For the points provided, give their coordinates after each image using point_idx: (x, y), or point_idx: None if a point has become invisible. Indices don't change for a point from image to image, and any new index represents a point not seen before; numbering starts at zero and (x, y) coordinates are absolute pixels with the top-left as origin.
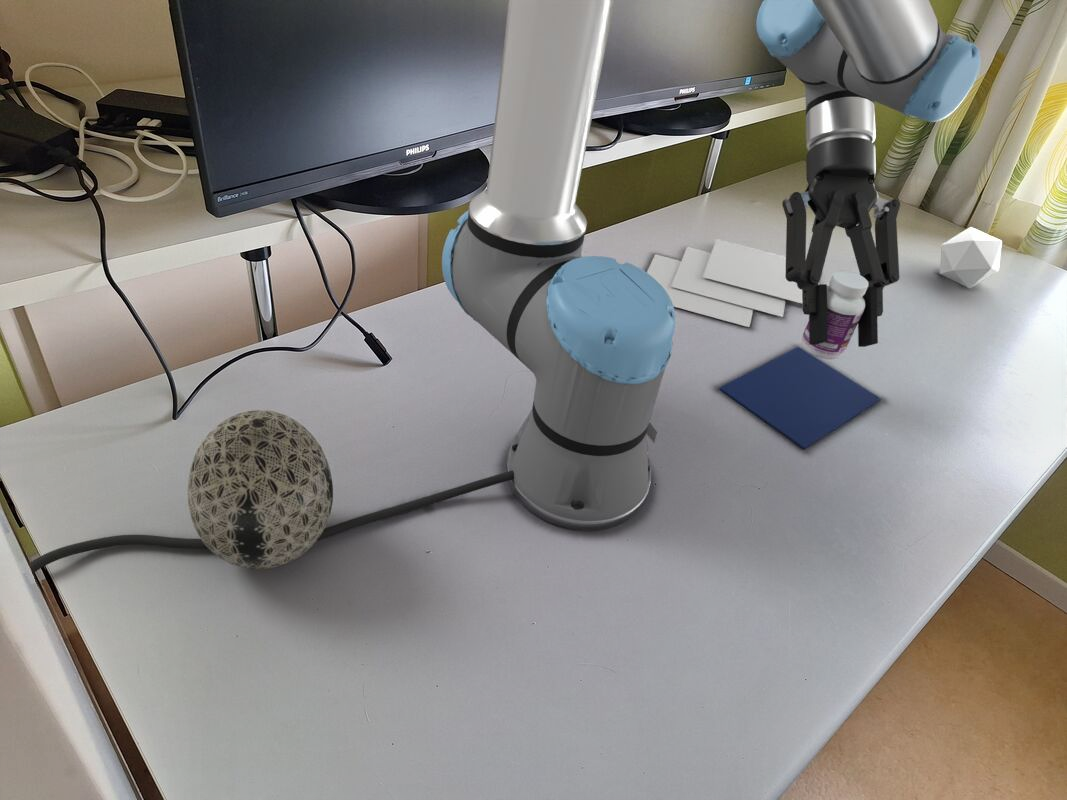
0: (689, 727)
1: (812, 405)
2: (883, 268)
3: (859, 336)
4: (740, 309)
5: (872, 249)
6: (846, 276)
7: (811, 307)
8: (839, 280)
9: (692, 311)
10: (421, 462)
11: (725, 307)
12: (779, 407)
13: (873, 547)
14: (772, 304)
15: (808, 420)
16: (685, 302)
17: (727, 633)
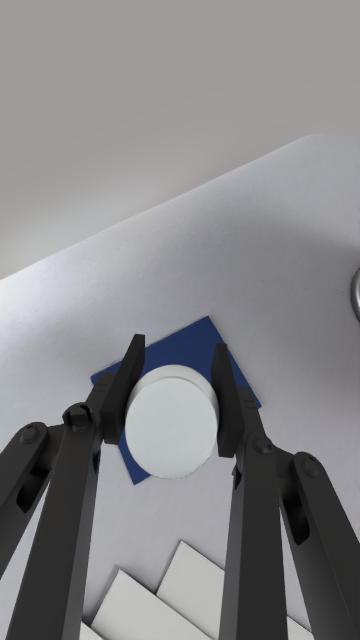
0: (343, 155)
1: None
2: (20, 500)
3: (141, 370)
4: (175, 597)
5: (45, 556)
6: (178, 439)
7: (246, 393)
8: (210, 417)
9: None
10: None
11: (197, 605)
12: (209, 370)
13: (200, 227)
14: (118, 613)
15: (187, 349)
16: None
17: (314, 190)
